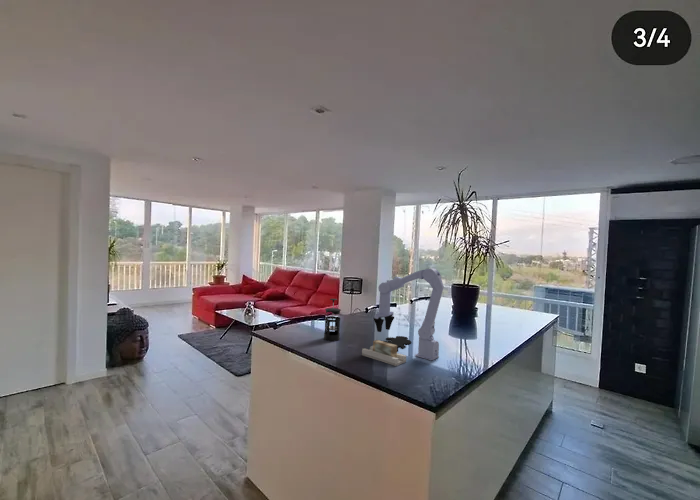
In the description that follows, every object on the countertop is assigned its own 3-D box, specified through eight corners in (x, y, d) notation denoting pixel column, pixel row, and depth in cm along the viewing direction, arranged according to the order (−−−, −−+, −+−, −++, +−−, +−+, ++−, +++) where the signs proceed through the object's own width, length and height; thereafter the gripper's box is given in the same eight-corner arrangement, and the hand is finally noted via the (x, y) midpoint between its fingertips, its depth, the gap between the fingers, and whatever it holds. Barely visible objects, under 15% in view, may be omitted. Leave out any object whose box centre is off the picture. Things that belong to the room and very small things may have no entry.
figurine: (395, 353, 166) (418, 341, 191) (395, 351, 166) (418, 339, 191) (369, 346, 175) (394, 336, 200) (369, 345, 175) (394, 334, 200)
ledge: (406, 361, 153) (406, 355, 153) (396, 366, 147) (396, 359, 147) (372, 351, 166) (372, 345, 166) (361, 355, 160) (362, 349, 160)
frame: (396, 359, 153) (397, 345, 153) (392, 360, 151) (393, 346, 151) (376, 352, 161) (376, 339, 161) (372, 354, 159) (373, 340, 159)
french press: (333, 342, 179) (335, 300, 179) (319, 339, 184) (321, 298, 184) (344, 337, 190) (346, 298, 190) (330, 335, 194) (332, 296, 194)
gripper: (386, 302, 181) (385, 327, 181) (370, 305, 170) (369, 331, 170) (397, 304, 176) (396, 329, 176) (381, 307, 165) (379, 333, 165)
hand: (383, 330), depth 173 cm, fingers open, 7 cm apart
